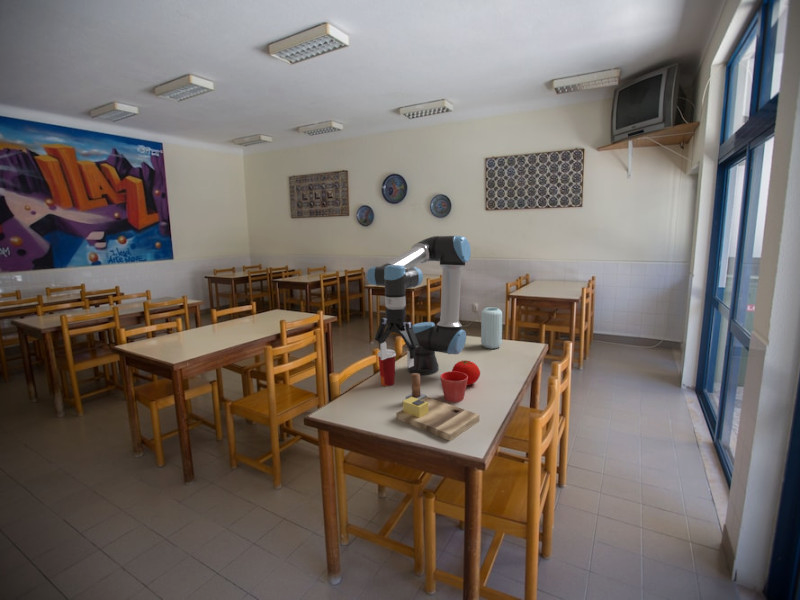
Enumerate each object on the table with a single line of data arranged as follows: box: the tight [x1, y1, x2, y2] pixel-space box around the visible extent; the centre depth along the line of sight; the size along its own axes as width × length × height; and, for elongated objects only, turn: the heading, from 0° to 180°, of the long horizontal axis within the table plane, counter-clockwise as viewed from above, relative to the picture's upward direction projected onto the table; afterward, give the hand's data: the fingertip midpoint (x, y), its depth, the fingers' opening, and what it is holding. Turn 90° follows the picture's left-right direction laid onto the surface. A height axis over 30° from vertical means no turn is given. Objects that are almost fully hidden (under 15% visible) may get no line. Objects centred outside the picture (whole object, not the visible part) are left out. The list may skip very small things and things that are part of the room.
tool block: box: [405, 392, 428, 400], centre depth 163 cm, size 6×6×2 cm
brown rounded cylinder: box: [411, 373, 421, 398], centre depth 162 cm, size 3×3×11 cm
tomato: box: [451, 359, 481, 386], centre depth 179 cm, size 11×12×10 cm
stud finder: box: [402, 397, 428, 418], centre depth 148 cm, size 8×5×4 cm, turn 47°
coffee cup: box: [376, 348, 397, 387], centre depth 180 cm, size 8×8×15 cm
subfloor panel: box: [395, 396, 480, 442], centre depth 147 cm, size 24×18×2 cm
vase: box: [480, 306, 503, 350], centre depth 230 cm, size 12×12×22 cm
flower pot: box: [439, 370, 468, 403], centre depth 164 cm, size 11×11×10 cm
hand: (396, 362), depth 152 cm, fingers open, 13 cm apart
